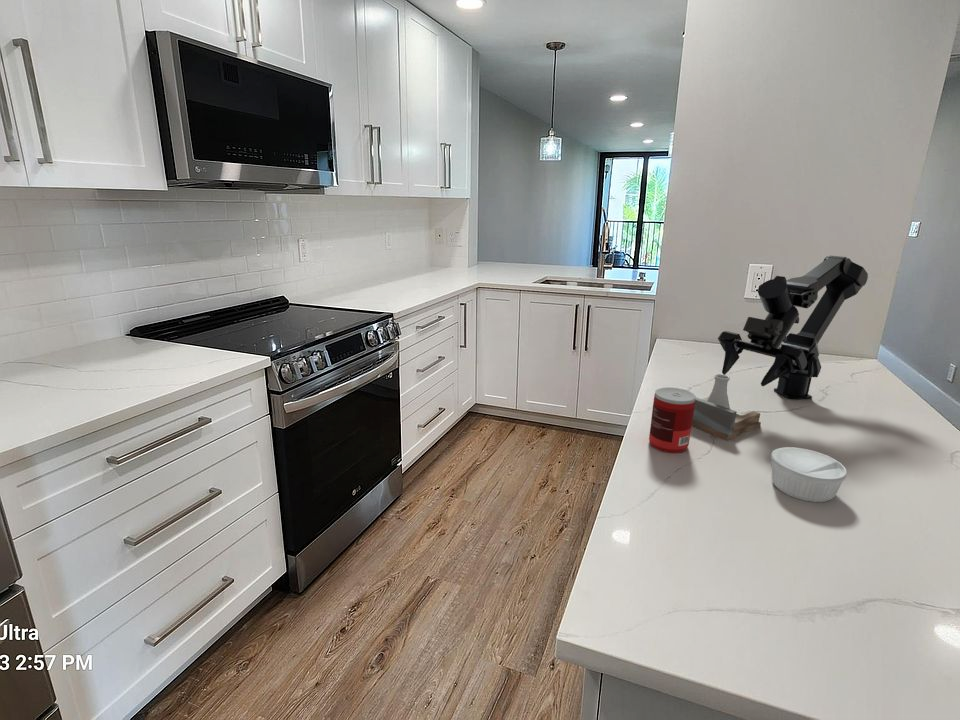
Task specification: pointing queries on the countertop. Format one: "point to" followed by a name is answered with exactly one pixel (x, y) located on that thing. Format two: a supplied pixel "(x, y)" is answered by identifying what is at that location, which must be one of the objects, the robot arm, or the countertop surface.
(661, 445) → the canned food
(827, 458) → the ramekin
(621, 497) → the countertop surface
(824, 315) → the robot arm
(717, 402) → the flask
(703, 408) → the stand
